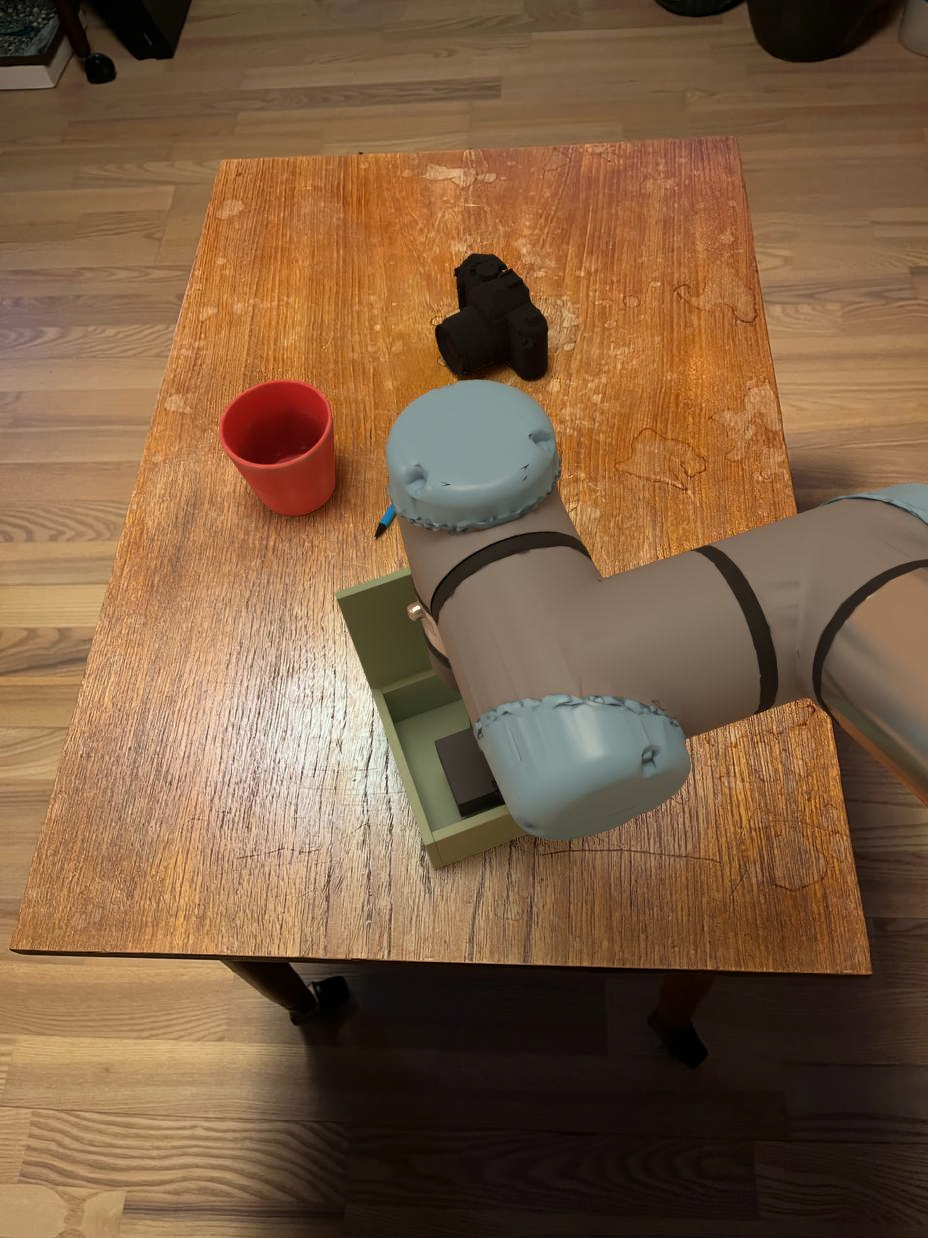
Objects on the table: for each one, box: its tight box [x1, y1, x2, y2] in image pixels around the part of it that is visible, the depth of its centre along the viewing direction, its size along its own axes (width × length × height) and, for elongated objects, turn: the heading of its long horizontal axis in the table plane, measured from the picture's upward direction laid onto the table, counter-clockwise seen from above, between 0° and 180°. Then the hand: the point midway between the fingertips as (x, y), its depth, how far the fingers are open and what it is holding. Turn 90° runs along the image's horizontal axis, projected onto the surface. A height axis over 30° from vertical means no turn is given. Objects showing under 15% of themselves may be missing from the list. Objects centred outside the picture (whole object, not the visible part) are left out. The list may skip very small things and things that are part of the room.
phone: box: [434, 727, 499, 817], centre depth 70 cm, size 6×9×3 cm, turn 110°
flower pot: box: [218, 378, 336, 517], centre depth 88 cm, size 11×11×10 cm
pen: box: [373, 503, 396, 540], centre depth 92 cm, size 1×19×1 cm, turn 154°
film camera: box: [434, 252, 550, 381], centre depth 96 cm, size 15×10×9 cm, turn 31°
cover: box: [334, 566, 433, 690], centre depth 67 cm, size 14×16×1 cm
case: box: [370, 668, 530, 871], centre depth 73 cm, size 14×16×7 cm
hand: (502, 764), depth 71 cm, fingers closed on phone, 5 cm apart
